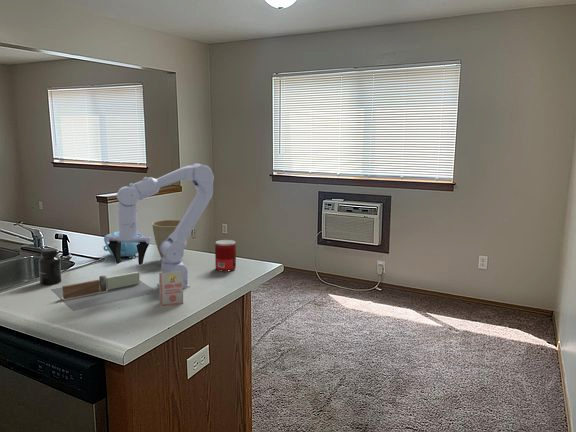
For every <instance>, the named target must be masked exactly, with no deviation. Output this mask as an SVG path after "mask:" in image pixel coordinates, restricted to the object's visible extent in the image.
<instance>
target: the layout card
mask: <svg viewBox="0 0 576 432" xmlns="http://www.w3.org/2000/svg"><path fill="white" fill-rule="evenodd" d="M98 280H99V279H98ZM99 283H100V280H99ZM50 290H51V291H52V292H53V293H54V294H55V295H56V296H57V297H58V298H59V299H60V300H61V301H62V302H63V303H64V304H65V305H66V306H67V307H68V308H69V309H71V310H72V311H80V310H83V309H87V308H92V307H96V306H100V305H101V306H102V305H105V304H110V303H115V302H120V301H124V300H128V299H134V298H137V297H143V296H147V295H152V294H157V293H159V290H156V289H155V288H153V287H151V286H150V285H148V284H146V283H145V282H143V281H141V280H140V283H139V284H134V285H129V286H124V287H119V288H114V289H109V290H107V288H106V290H107V291H105V292H98V293H93V294H88V295H83V296H78V297H73V298H68V299H63V288H62V286H61V287H55V288H52V289H50Z"/></svg>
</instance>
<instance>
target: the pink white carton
mask: <svg viewBox="0 0 576 432" xmlns="http://www.w3.org/2000/svg"><path fill="white" fill-rule="evenodd" d="M158 283H159V285H158V287H159V288H158V289H159V290H158V293H159V305H160V307H165V306H168V307H169V306H175V305H183V304H184V288H183V281H182V271H179V272H168V273H161V272H160V273H159V277H158Z"/></svg>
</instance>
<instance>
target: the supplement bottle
mask: <svg viewBox="0 0 576 432" xmlns="http://www.w3.org/2000/svg"><path fill="white" fill-rule="evenodd" d="M40 252H41V253H40V256H41V257H40V258H39V259H38V275H39V279H38V280H39V283H40V285H41V286H54V285H57V284H60V283H61V282H62V267H61V266H62V263H61V258H60V256H58V250H57V248H50V247H49V248H44V249H41V251H40Z"/></svg>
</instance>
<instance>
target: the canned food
mask: <svg viewBox="0 0 576 432" xmlns="http://www.w3.org/2000/svg"><path fill="white" fill-rule="evenodd" d="M214 246H215V247H214V248H215V249H214V253H215V255H214V256H215V262H214V263H215V265H214V266H215V269H217V270H216V271H218V270H222V271H221V272H224V271H226V272H229V271H228V270H233V269H235V270H236V267H237V261H236V260H237V244H236V241H235V240H233V239H220V240H216V241H215V245H214ZM233 271H234V270H233Z"/></svg>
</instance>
